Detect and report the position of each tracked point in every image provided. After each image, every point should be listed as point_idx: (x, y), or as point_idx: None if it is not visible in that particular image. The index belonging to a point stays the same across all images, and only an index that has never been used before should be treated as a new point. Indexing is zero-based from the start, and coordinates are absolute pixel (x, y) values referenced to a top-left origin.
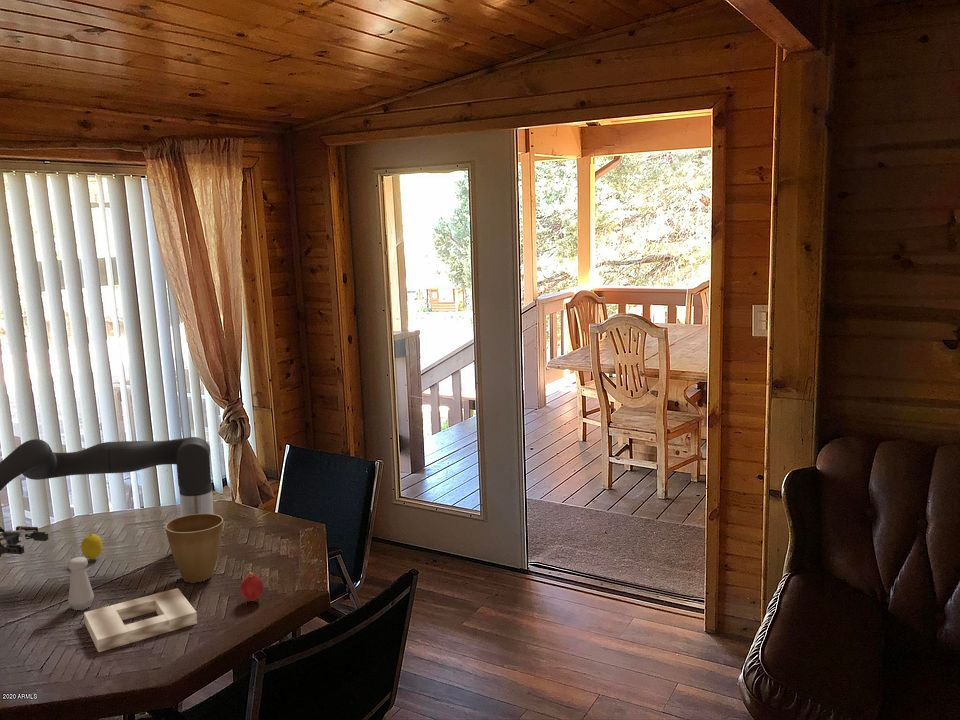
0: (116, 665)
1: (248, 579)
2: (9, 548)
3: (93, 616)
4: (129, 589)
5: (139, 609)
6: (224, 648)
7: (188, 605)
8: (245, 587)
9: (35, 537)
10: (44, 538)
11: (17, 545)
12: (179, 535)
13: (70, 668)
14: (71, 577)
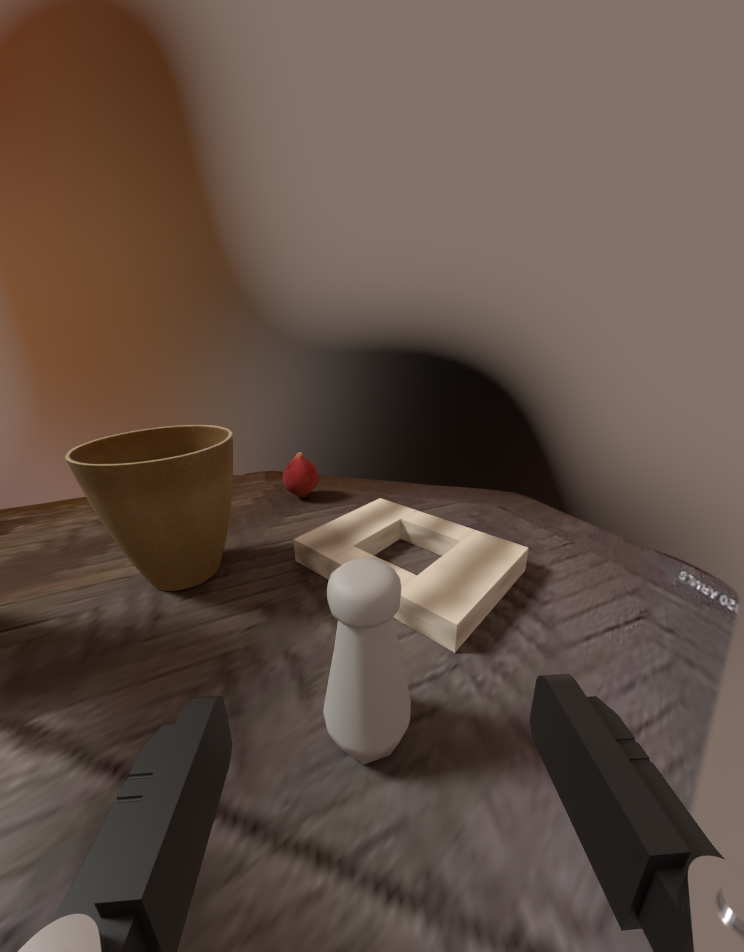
0: (532, 538)
1: (306, 460)
2: (679, 809)
3: (462, 596)
4: (232, 669)
5: None
6: (428, 485)
7: (362, 509)
8: (315, 470)
9: (172, 901)
10: (222, 751)
11: (590, 712)
12: (228, 447)
13: (592, 578)
14: (390, 645)
